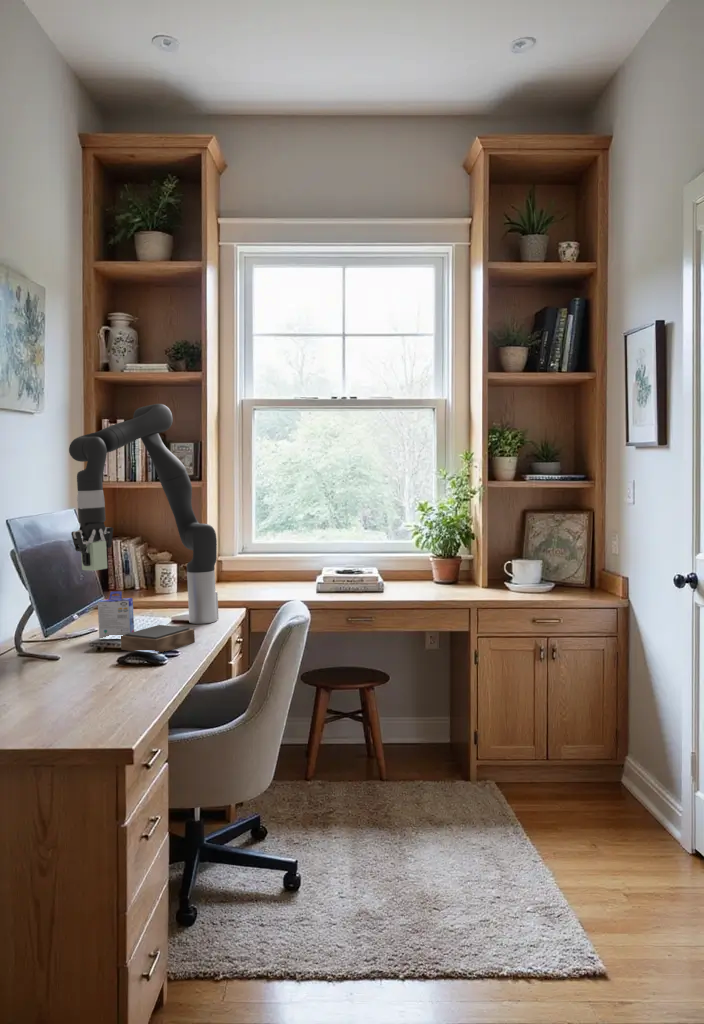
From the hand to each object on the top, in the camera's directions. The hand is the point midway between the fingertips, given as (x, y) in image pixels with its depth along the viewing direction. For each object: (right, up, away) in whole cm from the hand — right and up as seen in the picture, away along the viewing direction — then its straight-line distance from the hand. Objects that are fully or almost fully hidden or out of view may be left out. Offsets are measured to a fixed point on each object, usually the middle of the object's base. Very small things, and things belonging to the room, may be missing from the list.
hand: (94, 564), depth 239 cm
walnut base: (+18, -24, +4) cm, 30 cm away
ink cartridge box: (+2, -24, +16) cm, 29 cm away
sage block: (0, -1, 0) cm, 1 cm away
